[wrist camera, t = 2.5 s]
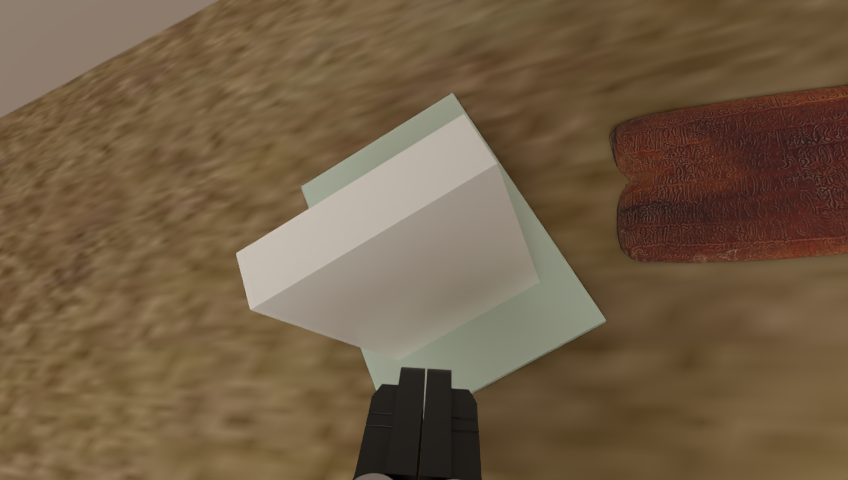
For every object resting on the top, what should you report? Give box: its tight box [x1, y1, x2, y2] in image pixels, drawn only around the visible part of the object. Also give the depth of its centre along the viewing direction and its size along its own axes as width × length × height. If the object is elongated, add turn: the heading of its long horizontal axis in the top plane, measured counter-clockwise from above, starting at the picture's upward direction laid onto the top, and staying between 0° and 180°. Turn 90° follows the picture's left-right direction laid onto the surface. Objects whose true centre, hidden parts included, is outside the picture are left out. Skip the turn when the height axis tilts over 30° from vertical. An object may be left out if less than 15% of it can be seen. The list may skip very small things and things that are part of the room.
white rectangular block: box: [236, 114, 540, 360], centre depth 22 cm, size 3×10×14 cm, turn 115°
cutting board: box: [301, 93, 606, 419], centre depth 31 cm, size 20×14×1 cm
